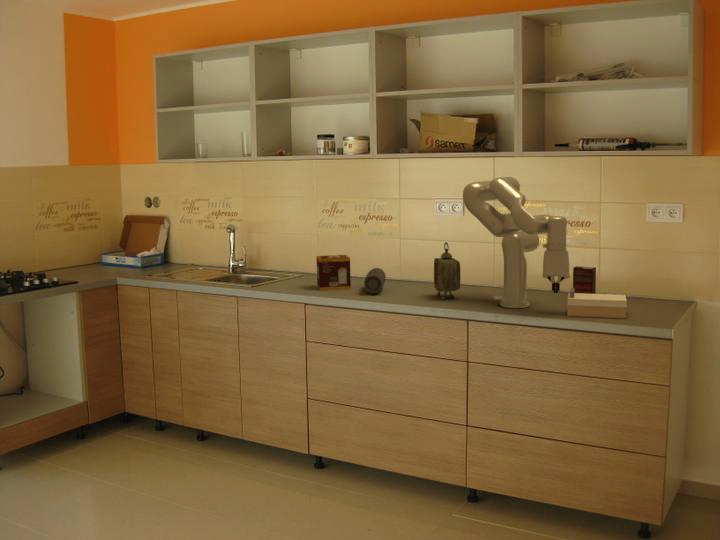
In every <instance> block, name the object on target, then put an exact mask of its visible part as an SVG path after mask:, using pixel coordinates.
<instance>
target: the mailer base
mask: <svg viewBox="0 0 720 540" xmlns="http://www.w3.org/2000/svg"><path fill="white" fill-rule="evenodd" d="M566 309H567V313H566V314H567V317H581V318H582V317H583V318H584V317H585V318H605V319H607V318H610V319H627V306H626V307H603V306H576V305H568V304H567V308H566Z"/></svg>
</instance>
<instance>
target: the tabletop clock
mask: <svg viewBox="0 0 720 540" xmlns="http://www.w3.org/2000/svg"><path fill="white" fill-rule="evenodd" d="M449 246H450V245H449V243H448V242H447V241H446V242H444V244H443V247H444V252H443V253H441V255H440V257H434V258H433V259H434V261H433V283H434V289H435V290H436V291H437V293H436V295H437V296H438V297H439V296H440V295H441V292H444V293H443V296H442V297H441V300H442V301H445V300H447V299H446V294H447V293H448V292H449V298H454V295H453V294H452V292H456V291H458V290H461V289H460V288H461V263H460V261H459V260H457V259H456V258H453V255H452V254H451V253H450V252H449ZM446 247H447V248H446Z"/></svg>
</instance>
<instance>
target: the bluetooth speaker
mask: <svg viewBox="0 0 720 540" xmlns="http://www.w3.org/2000/svg"><path fill="white" fill-rule="evenodd" d="M385 282H386V273H385V271H384V270H383V269H382V268H379V267H375V268H372V269H371V270H369V271H368V272H367V274H366V276H365V278H364V280H363V286H364V288H365V290H366V291H367V292H369V293H370V294H379V291H381V290H382V288H383V287H384V285H385Z"/></svg>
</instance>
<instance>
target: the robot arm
mask: <svg viewBox="0 0 720 540" xmlns="http://www.w3.org/2000/svg"><path fill="white" fill-rule="evenodd" d="M520 189H521V184H520V183H519V181H518V180H517V178H515V177H512V176H502V177H501V176H500V177H496V178H493V179H492V180H486V181H473V182H471V183H470V182H469V183H468V184H467V185H465V186H464V188H463V190H462V201H463V204H464V206H465V208H466V209H467V211H468V212H469V213H470V214H471V215H472V216H474V217H475V218H476V219H477V220H478V221H479V222H480V223H481V224H482V225H483V226H484V227H485V229H487V231H488V232H490V233H491V235H493V236H494V237H495V238H496V237H497V238H502V239H501V249H502V255H503V293H502V294H500V295H492V300H493V301H500V302H499V306H500V307H502V308H507V309H525V308H526V309H527V308H528V307H530V306H531V302H529V301H527V284H528V283H527V281H528V278H527V275H528V263H527V259H526V256H525V253H530V252H534V251H535V250H537V249H538V247H539V245H540V237H539V235H541V234H546V243H545V244H543V245H542V248H544V253H543V259H542V260H543V261H542V276H541V277H542V278H543V279H546V280H548V281H549V282H551V291H553V294H555V293H556V294H558V292H560V290H561V289H560V288H561V285H560V284H561V282H563V281H564V280H567V279H570V277H571V276H570V256H569V251H568V250H567V224H568V223H567V218H566V217H565V216H562V215H559V216H558V215H554V216H553V215H550V214H537V215H536V214H535V215H532V214H531V213H530V212H528V211H527V210H526V209H525V208H524V205H525V203H526V200H527V198H526V196H525V194H523V193H522V192H520ZM496 200H497V201H498V202H499V203H501V205H503V206H504V207H505V208H506V209H507V210H508V211H509V212H510V213H505V214H503V213H501V212H500V211H499V210H497V208H496V207H494V206H493V205H492V204H490V203H488V202H487V201H496ZM555 277H557V280H555Z"/></svg>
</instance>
